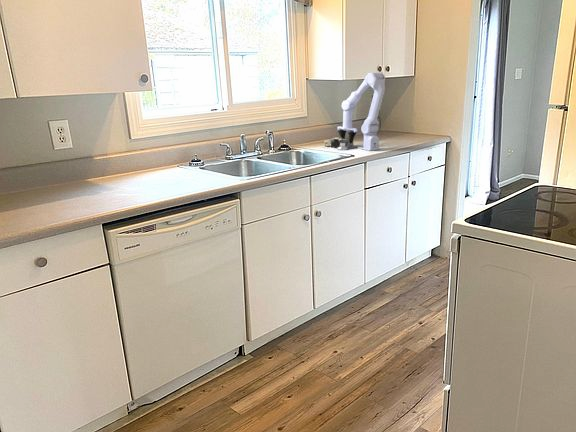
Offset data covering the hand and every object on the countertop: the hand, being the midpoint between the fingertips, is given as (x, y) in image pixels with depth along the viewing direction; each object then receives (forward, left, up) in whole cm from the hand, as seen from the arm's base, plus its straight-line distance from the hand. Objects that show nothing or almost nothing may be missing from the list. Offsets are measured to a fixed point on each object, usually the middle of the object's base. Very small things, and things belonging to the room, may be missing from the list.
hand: (346, 142), depth 291 cm
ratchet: (-9, +5, -3) cm, 10 cm away
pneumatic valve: (+8, +12, 0) cm, 14 cm away
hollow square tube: (-1, 0, -3) cm, 3 cm away
